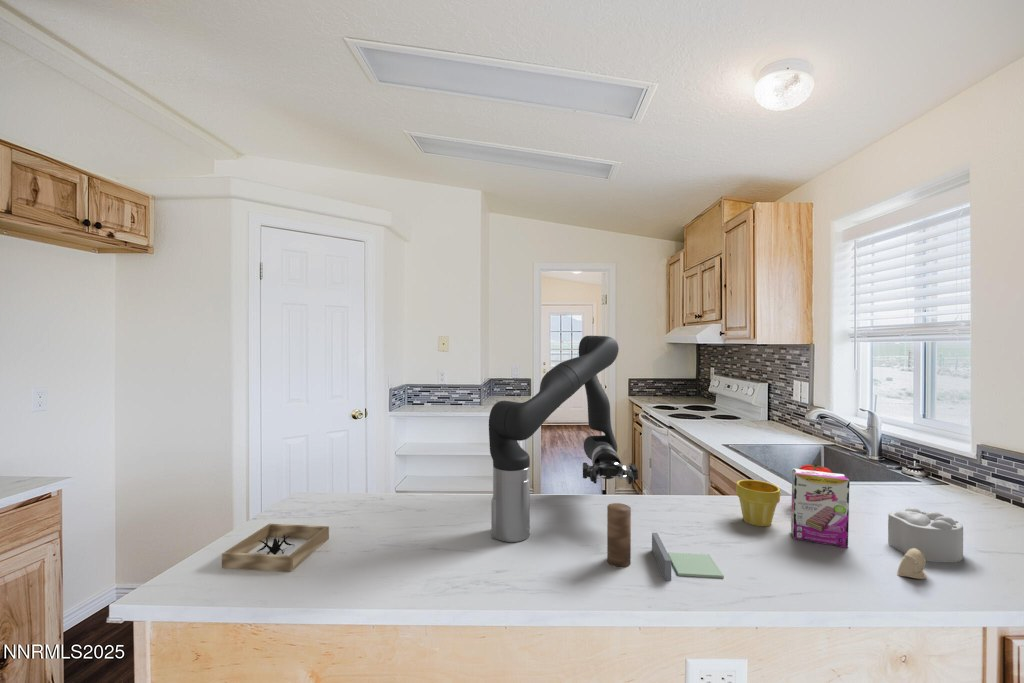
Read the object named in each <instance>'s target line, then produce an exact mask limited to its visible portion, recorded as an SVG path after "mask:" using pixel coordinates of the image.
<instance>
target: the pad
mask: <svg viewBox="0 0 1024 683" xmlns="http://www.w3.org/2000/svg"><path fill="white" fill-rule="evenodd" d="M667 553H668V555H669V557H670V559H671V565H673V568H674V570H675V572H676V574H677V575H678V576H680V577H681V576H682V577H698V578H715V579H724V578H725V575H724V574H723V572H722V571H721V570H720V568H719V567H718V566H717V564H716V563H715V561H714V560H713V558H712V557H711V555H710V554H706V553H687V552H686V553H685V552H668V551H667Z"/></svg>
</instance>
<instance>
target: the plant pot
mask: <svg viewBox="0 0 1024 683" xmlns="http://www.w3.org/2000/svg"><path fill="white" fill-rule="evenodd" d="M735 486H736V487H735V488H736V489H735V490H736V491H735V492H736V493H735V494H736V496H737V497H738V498H739V504H740V508H741V513H742V518H743V522H744V521H745V523H747V524H750V525H753V526H757V527H770V526H771V525H772V522H773V520H774V515H775V511H776V507H777V504H779V503H780V499H781V489H780V487H779V486H777V485H776V484H773V483H771V482H767V481H764V480H759V479H758V480H757V479H740V480H738V481H736V485H735Z"/></svg>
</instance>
